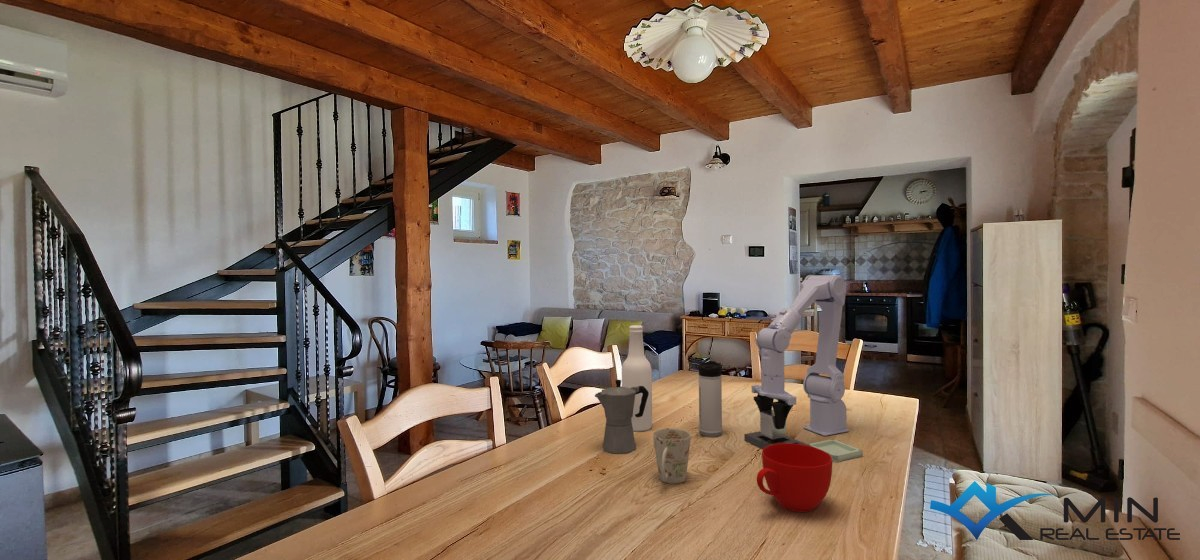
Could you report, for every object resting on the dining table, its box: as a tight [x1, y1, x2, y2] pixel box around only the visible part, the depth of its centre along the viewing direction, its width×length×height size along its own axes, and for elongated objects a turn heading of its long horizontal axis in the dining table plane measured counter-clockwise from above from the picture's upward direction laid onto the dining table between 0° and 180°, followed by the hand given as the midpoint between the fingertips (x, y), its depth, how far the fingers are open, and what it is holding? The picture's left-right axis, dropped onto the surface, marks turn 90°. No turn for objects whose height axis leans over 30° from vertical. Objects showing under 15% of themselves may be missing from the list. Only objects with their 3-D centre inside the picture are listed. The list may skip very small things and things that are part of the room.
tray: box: [807, 438, 864, 463], centre depth 128 cm, size 9×9×2 cm
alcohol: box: [621, 324, 653, 432], centre depth 151 cm, size 9×9×30 cm
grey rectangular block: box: [759, 409, 787, 441], centre depth 135 cm, size 4×4×6 cm
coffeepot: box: [594, 379, 649, 455], centre depth 135 cm, size 15×9×18 cm, turn 113°
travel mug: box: [698, 360, 723, 438], centre depth 145 cm, size 6×7×20 cm
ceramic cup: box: [756, 443, 833, 513], centre depth 101 cm, size 13×17×10 cm
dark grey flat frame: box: [743, 430, 829, 454], centre depth 131 cm, size 20×9×2 cm, turn 23°
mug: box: [652, 427, 692, 484], centre depth 113 cm, size 8×13×10 cm, turn 161°
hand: (773, 425), depth 135 cm, fingers closed on grey rectangular block, 4 cm apart
